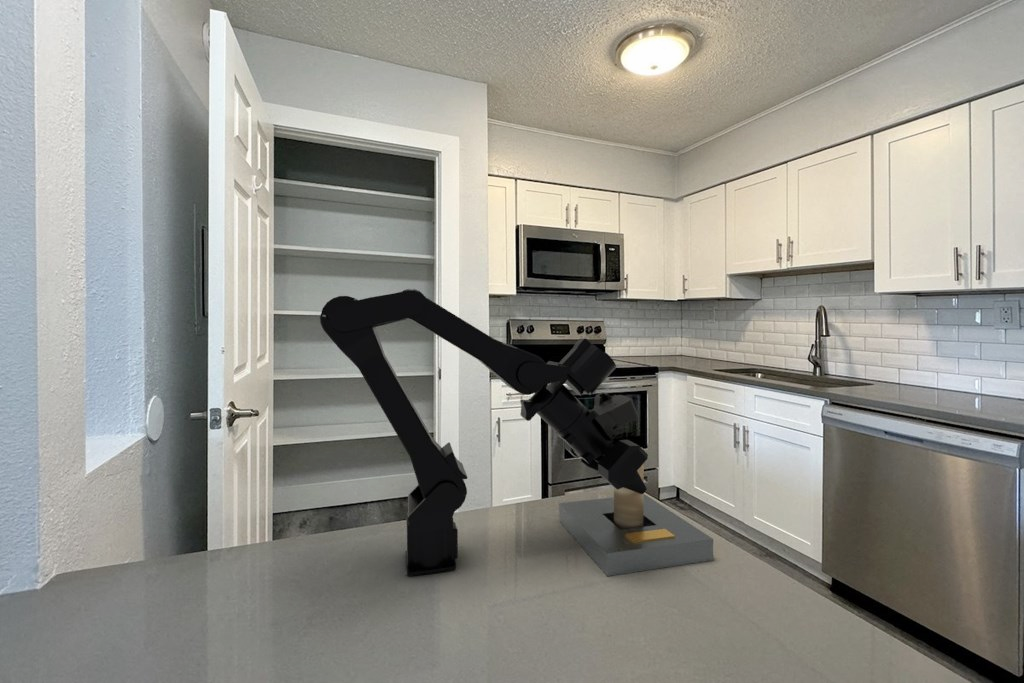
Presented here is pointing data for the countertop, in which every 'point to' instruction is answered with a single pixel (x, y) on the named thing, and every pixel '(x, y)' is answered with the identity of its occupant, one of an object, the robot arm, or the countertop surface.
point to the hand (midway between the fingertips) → (636, 486)
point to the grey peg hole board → (634, 537)
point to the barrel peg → (629, 506)
